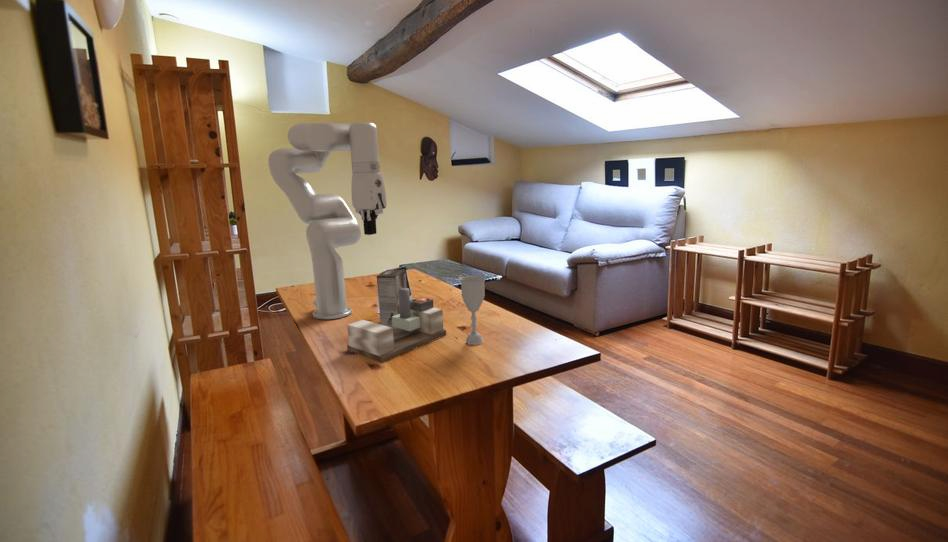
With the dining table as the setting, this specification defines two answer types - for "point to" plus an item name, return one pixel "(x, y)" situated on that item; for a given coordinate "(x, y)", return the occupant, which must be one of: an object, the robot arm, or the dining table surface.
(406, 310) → the carriage
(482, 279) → the chalice
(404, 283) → the coffee box
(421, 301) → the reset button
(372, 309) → the dining table surface
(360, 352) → the rail bed
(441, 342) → the dining table surface
